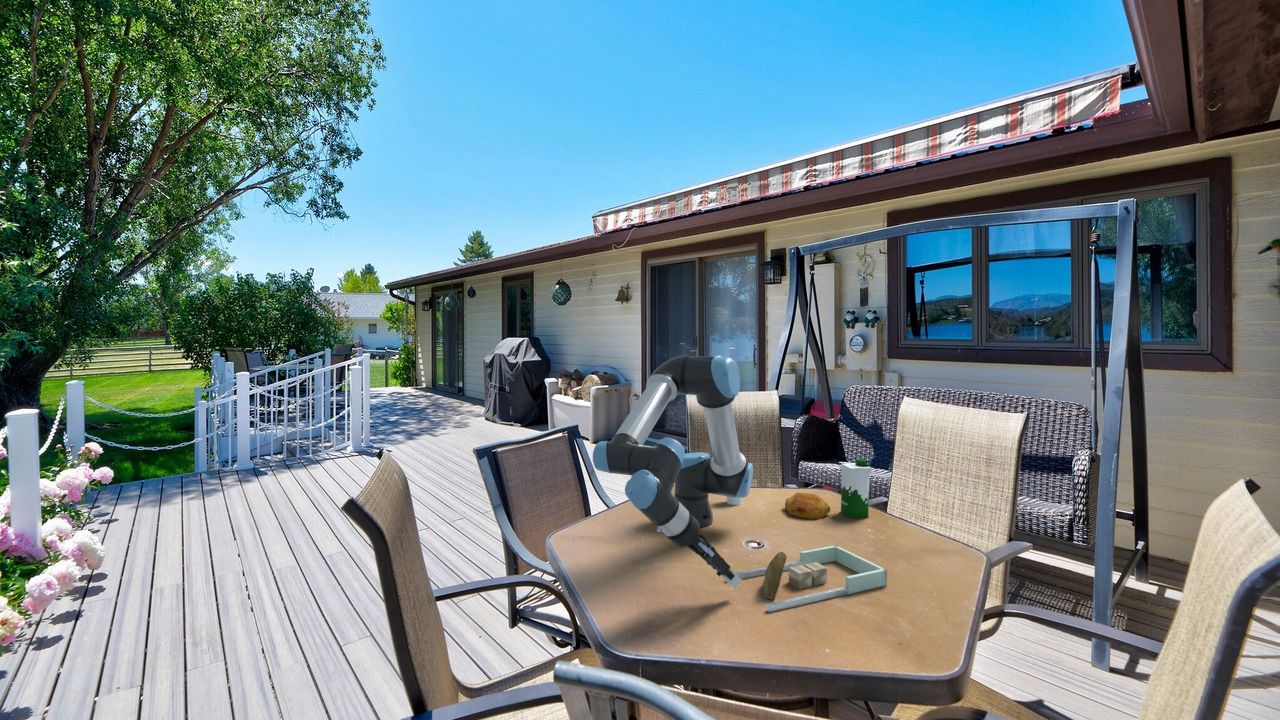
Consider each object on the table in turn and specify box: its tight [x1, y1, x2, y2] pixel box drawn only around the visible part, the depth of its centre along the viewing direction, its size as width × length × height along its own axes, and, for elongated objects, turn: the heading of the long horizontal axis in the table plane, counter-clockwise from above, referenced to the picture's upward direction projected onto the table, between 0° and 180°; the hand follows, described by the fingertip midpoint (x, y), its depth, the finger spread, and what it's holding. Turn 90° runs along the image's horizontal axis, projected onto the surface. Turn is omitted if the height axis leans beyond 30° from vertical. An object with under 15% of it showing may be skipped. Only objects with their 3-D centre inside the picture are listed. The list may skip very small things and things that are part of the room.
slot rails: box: [735, 560, 849, 613], centre depth 138 cm, size 24×18×2 cm
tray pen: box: [799, 545, 888, 595], centre depth 146 cm, size 13×18×4 cm
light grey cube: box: [788, 565, 813, 590], centre depth 140 cm, size 4×4×4 cm
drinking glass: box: [726, 496, 743, 506], centre depth 209 cm, size 7×7×10 cm
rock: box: [761, 551, 788, 601], centre depth 136 cm, size 10×8×10 cm
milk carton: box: [840, 458, 872, 519], centre depth 197 cm, size 9×9×20 cm
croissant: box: [784, 492, 831, 520], centre depth 198 cm, size 15×16×8 cm
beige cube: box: [804, 562, 828, 586], centre depth 142 cm, size 4×4×4 cm
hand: (737, 583), depth 132 cm, fingers closed
